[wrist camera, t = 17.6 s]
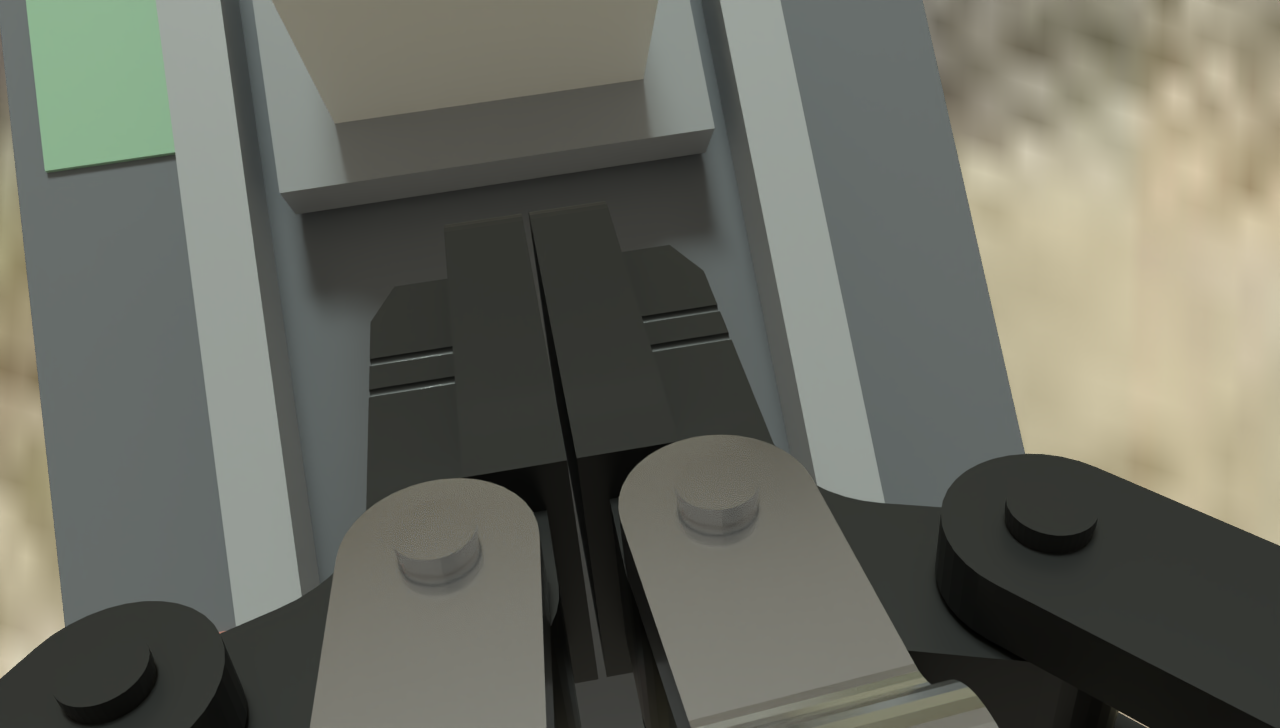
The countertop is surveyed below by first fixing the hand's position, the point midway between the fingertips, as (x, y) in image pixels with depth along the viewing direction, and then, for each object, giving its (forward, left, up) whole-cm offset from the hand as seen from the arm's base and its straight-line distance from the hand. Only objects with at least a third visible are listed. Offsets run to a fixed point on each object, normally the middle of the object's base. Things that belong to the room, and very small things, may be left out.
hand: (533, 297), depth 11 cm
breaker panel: (0, -1, -11) cm, 11 cm away
